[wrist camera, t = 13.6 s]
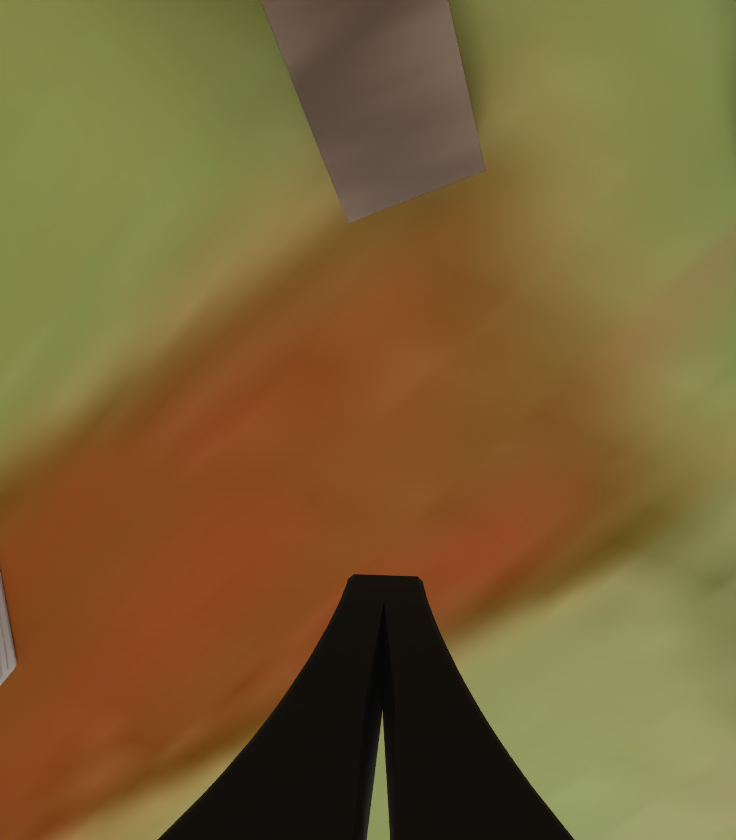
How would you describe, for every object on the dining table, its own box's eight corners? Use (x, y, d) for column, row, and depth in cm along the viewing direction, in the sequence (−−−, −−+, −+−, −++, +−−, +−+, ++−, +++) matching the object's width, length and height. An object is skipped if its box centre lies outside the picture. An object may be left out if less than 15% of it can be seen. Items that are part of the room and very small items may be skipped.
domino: (348, 223, 16) (201, -150, 11) (346, 203, 17) (213, -141, 13) (485, 170, 16) (392, -253, 11) (473, 153, 17) (385, -233, 12)
